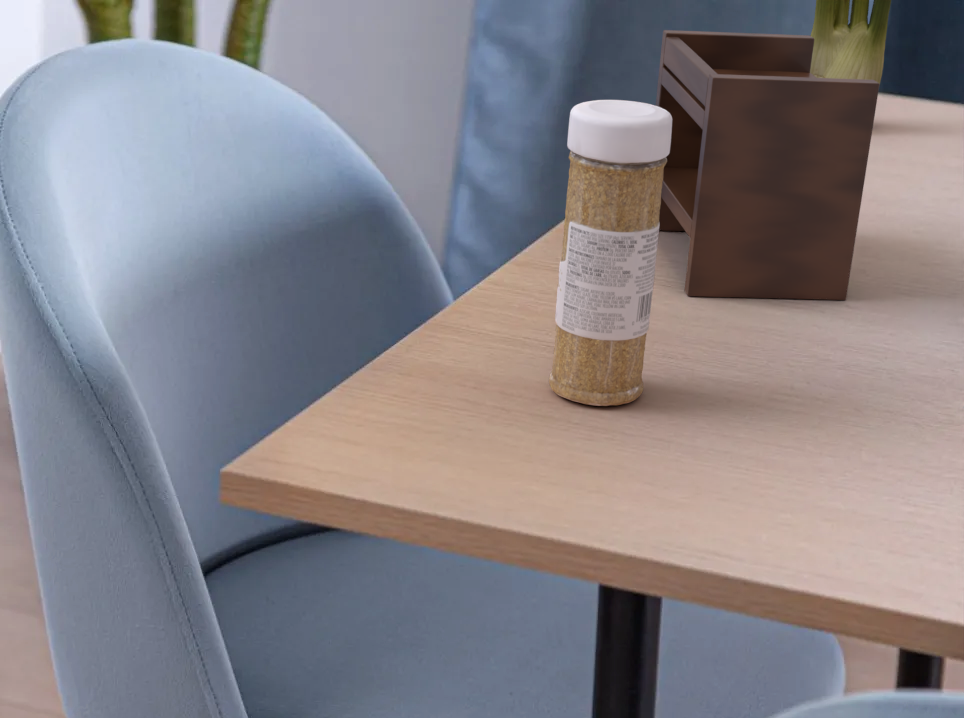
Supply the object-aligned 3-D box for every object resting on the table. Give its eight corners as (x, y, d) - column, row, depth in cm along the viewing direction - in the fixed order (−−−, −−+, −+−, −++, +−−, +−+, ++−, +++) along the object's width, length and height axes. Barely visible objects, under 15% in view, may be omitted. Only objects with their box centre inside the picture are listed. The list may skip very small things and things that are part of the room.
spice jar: (578, 368, 86) (603, 92, 81) (660, 391, 84) (692, 108, 78) (529, 393, 83) (551, 107, 77) (613, 418, 81) (642, 124, 75)
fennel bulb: (877, 127, 140) (902, -31, 134) (857, 137, 136) (882, -24, 131) (807, 115, 142) (829, -39, 137) (786, 126, 138) (807, -33, 133)
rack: (783, 229, 111) (810, 35, 106) (846, 300, 99) (880, 83, 93) (642, 225, 110) (663, 29, 105) (687, 296, 98) (712, 77, 93)
